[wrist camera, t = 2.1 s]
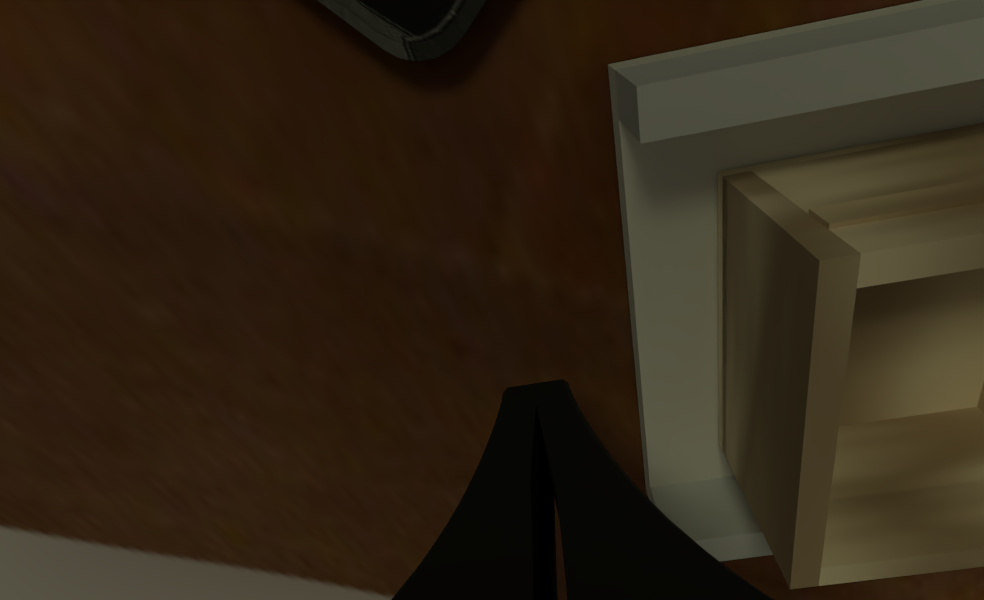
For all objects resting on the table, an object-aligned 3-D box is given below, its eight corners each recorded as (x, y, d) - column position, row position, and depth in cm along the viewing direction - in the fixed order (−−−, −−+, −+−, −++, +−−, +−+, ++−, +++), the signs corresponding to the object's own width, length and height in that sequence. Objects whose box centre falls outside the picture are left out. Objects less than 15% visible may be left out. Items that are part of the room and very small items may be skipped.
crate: (1063, 103, 12) (1339, 167, 8) (978, 408, 16) (1138, 551, 12) (717, 167, 13) (820, 254, 9) (718, 445, 17) (789, 592, 13)
